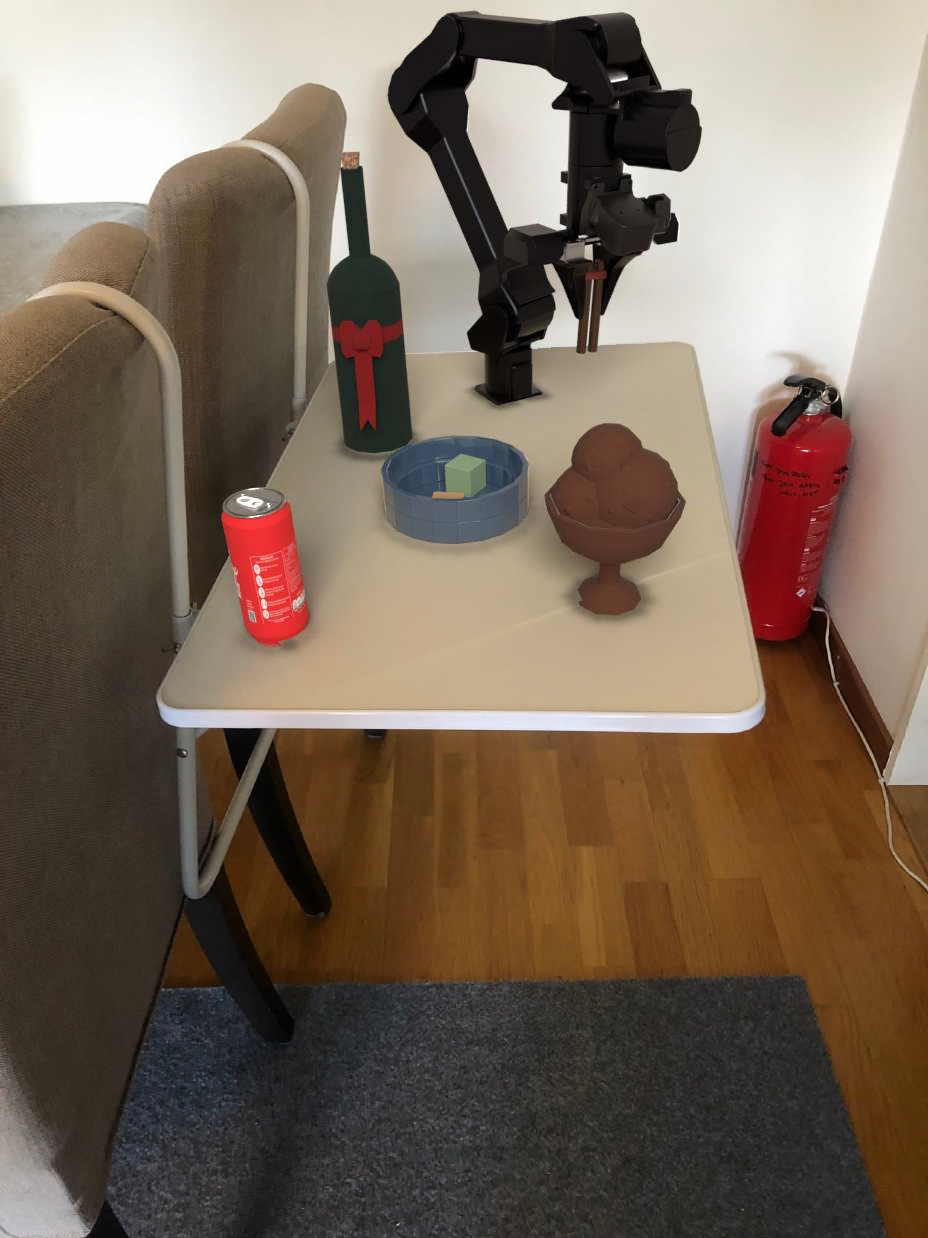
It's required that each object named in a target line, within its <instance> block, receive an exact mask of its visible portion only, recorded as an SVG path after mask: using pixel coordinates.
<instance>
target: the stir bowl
mask: <svg viewBox="0 0 928 1238" xmlns="http://www.w3.org/2000/svg"><path fill="white" fill-rule="evenodd" d="M460 454H464V455H468V456H472V457H476V458H481V459H485V461H486V487H484V488H483V489H482V490H481V491H479V492H478V493H477V494H475V495H474V496H473V497H465V498H460V499H445V498H432V496H433V493H434V492H446V479H445V465H446V464H447V463H448V462H450V461H451V460H453V459H454V458H455V457H457V456H458V455H460ZM380 478H381V479H380V480H381V486H382V487H381V488H382V497H383V498H382V499H383V508H384V514H385V517H386V521H387V522H388V523H389V525H391V526H392V527H393V528H394V529H395V531H398V532H399V533H402V534H404V535H406V536H408V537H410V538H412V539H416V540H420V541H425V542H429V543H435V544H466V543H473V542H481V541H485V540H489V539H492V538H495V537H498V536H501V535H504V534H506V533H507V532H509V531H511V530H512V529H514V528H516V527H518V526H519V525H520V524H521V523H522V521H523V520H524V519H525V518H526V517H527V516H528V514H529V507H530V462H529V460H528V458H527V456H526V455H525V453H524V452H523V451H521V450H520V449H519V448H517V447H515V446H514V445H512V444H510V443H507V442H504V441H502V440H498V439H495V438H490V437H485V436H478V435H446V436H445V435H444V436H438V437H430V438H425V439H423V440H418V441H415V442H412V443H408V444H407V445H406V446H403V447H401V448H398V449H396V450H394V452H392V454H390V455H389V456H388V457H386V458H385V460H384V462H383V464H382V466H381V469H380Z"/></svg>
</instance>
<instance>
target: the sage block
mask: <svg viewBox="0 0 928 1238" xmlns="http://www.w3.org/2000/svg"><path fill="white" fill-rule="evenodd" d="M445 479H446V492H458V493H465V497H473V496H474V495H475V494H477V493H478V492H479V491H481V490H482V489H483V488H484V487H486V461H485V459H481V458H476V457H472V456H468V455H464V454H460V455H458V456H457V457H455V458H454V459H453V460H451V461H450V462H448V463H447V464H446V465H445Z"/></svg>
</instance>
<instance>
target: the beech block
mask: <svg viewBox="0 0 928 1238" xmlns="http://www.w3.org/2000/svg"><path fill="white" fill-rule="evenodd" d="M432 498H445V499H460V498H465V493H458V492H434V493H433V496H432Z"/></svg>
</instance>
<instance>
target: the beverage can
mask: <svg viewBox="0 0 928 1238" xmlns="http://www.w3.org/2000/svg"><path fill="white" fill-rule="evenodd" d="M221 524H222V527H223V532H224V536H225V541H226V546H227V551H228V554H229V555H228V556H229V560H230V564H231V570H232V574H233V578H234V583H235V587H236V592H237V596H238V601H239V606H240V610H241V611H240V612H241V615H242V620H243V625H244V628H245V629H246V631H247V632H248V633H249V634H250V635H251V637H252V639H253V640H254V642H256V643H258V644H259V645H262V646H266V647H280V646H282V645H281V643H280V642H283V641H286V640H287V641H288V640H290V639H292V638H294V637H296V636H298V635H299V634H301V633H302V632H303V631H304V629H305V628H306V626H307V623H308V620H309V608H308V604H307V597H306V592H305V591H306V590H305V585H304V579H303V574H302V567H301V562H300V556H299V549H298V544H297V537H296V531H295V525H294V518H293V513H292V508H291V505H290V503H289V502H288V500H287V497H286V495H285V494H284V493H283V491H281V490H279V489H276V488H272V487H263V486H262V487H251V488H245V489H242V490H239V491H237V492H234V493H233V494H231V495H229V496H228V497H227V498H226V499H224V501H223V503H222V513H221Z"/></svg>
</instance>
